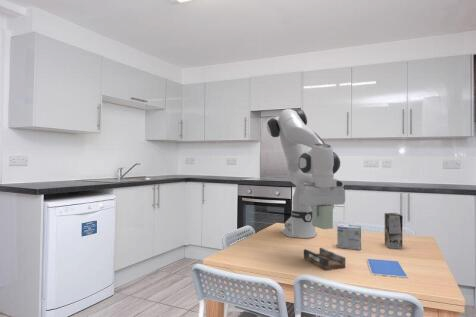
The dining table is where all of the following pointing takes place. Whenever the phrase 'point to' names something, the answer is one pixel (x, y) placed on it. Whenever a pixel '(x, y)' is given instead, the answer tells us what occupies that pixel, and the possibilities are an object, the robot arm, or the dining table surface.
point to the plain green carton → (323, 217)
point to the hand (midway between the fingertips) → (322, 215)
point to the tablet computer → (386, 268)
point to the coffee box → (393, 230)
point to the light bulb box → (349, 236)
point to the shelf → (325, 259)
